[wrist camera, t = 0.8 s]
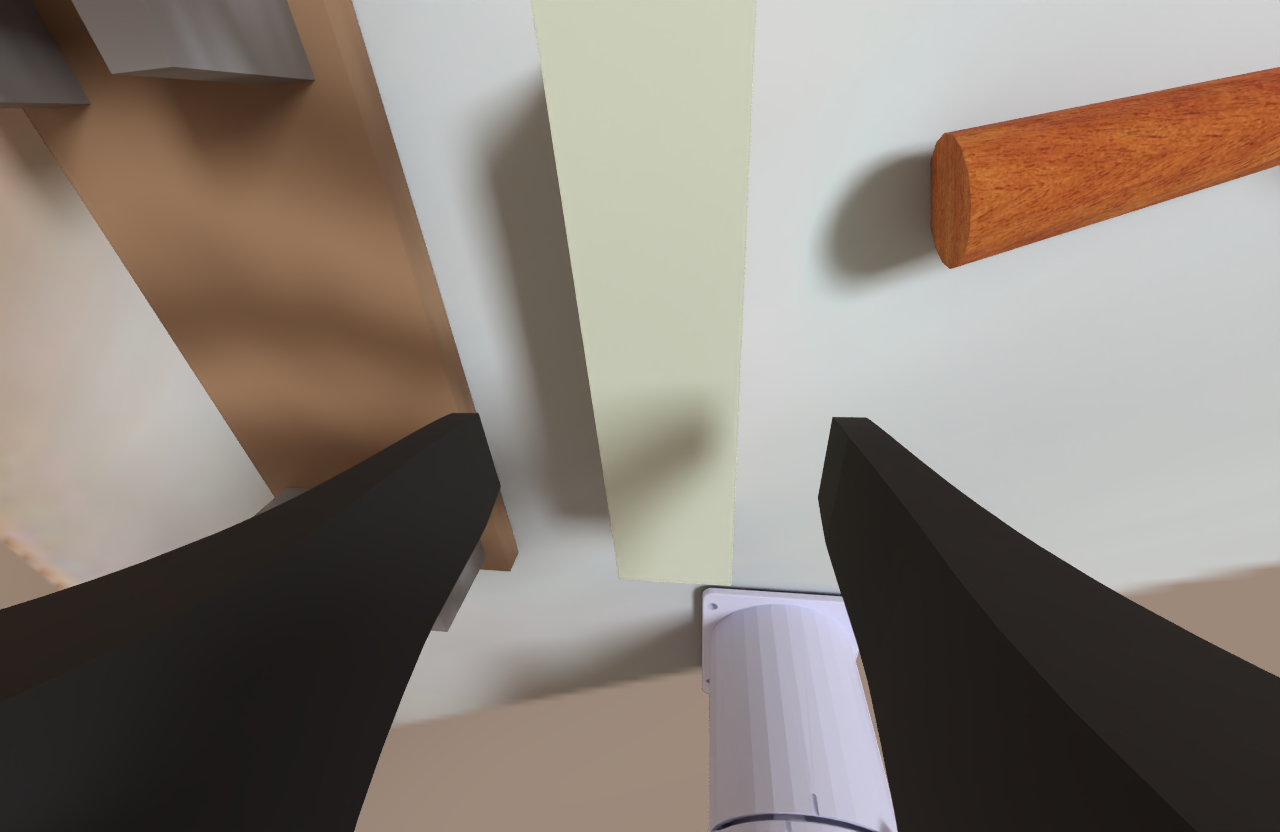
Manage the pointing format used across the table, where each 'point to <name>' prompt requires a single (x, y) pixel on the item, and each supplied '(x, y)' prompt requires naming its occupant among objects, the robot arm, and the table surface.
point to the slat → (657, 258)
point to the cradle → (255, 219)
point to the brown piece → (1097, 162)
